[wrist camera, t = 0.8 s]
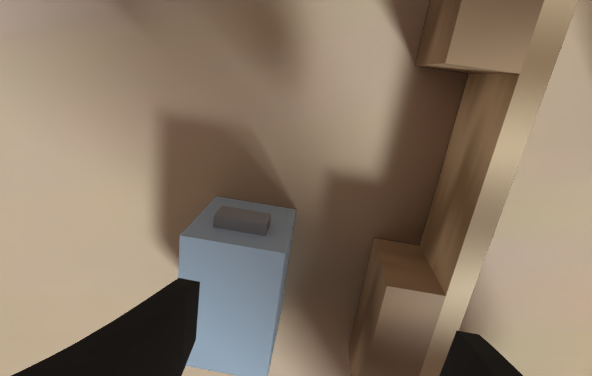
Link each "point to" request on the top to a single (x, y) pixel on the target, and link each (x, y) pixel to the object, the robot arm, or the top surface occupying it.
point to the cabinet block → (237, 282)
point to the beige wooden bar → (459, 180)
